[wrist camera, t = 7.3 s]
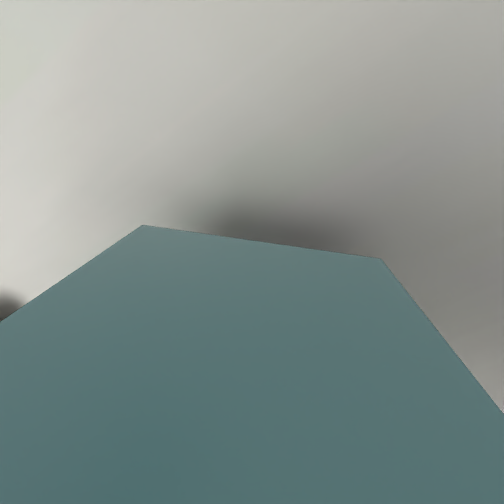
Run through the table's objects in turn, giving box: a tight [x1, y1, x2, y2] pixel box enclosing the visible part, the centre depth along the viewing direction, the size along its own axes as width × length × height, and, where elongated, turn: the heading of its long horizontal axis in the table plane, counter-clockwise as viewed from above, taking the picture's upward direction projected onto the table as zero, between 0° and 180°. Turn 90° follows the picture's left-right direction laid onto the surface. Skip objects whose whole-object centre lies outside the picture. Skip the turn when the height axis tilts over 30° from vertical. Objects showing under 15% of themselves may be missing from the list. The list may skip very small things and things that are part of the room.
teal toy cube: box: [0, 225, 504, 504], centre depth 8 cm, size 8×8×9 cm
